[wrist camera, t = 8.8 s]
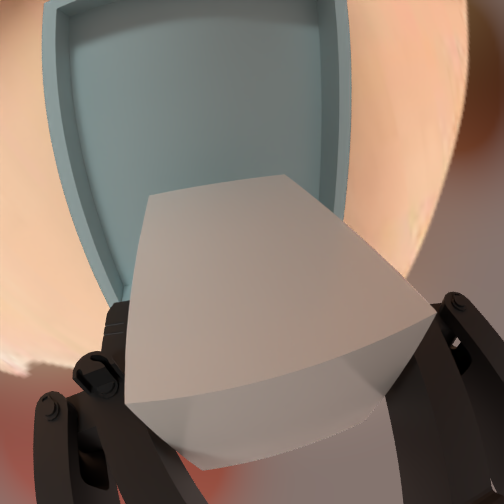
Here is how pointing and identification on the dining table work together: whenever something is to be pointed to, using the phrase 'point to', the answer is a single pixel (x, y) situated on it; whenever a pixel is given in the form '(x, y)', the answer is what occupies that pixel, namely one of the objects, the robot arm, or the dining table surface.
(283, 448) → the beige boxy piece
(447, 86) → the dining table surface
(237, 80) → the tray
